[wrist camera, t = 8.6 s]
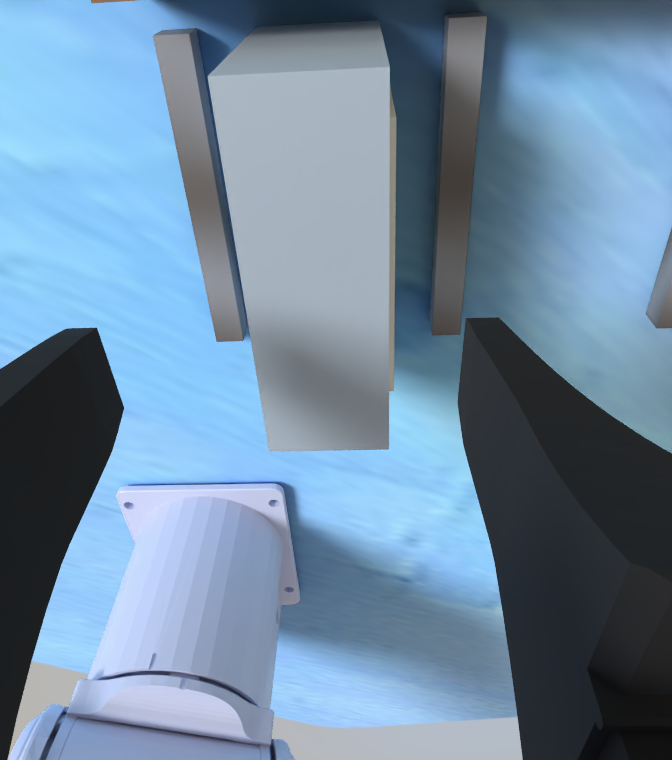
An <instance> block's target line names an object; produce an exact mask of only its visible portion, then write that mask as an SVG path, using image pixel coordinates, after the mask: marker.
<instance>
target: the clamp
mask: <svg viewBox="0 0 672 760" xmlns="http://www.w3.org/2000/svg"><path fill="white" fill-rule="evenodd" d="M118 1H135V0H91V2H92V3H102V2H118ZM486 24H487V16H486V15H485V14H483V13H482V12H468V13H451V14H445V16H444V36H443V57H442V78H441V98H440V119H439V140H438V160H437V181H436V202H435V222H434V243H433V264H432V284H431V305H430V325H431V330H432V335H455V334H460V328H461V316H462V305H463V293H464V281H465V270H466V258H467V246H468V234H469V223H470V211H471V199H472V188H473V176H474V164H475V153H476V141H477V129H478V118H479V106H480V94H481V82H482V71H483V59H484V47H485V36H486ZM153 38H154V43H155V48H156V53H157V58H158V62H159V67H160V72H161V77H162V82H163V86H164V91H165V96H166V101H167V106H168V110H169V115H170V120H171V125H172V129H173V134H174V139H175V144H176V149H177V153H178V158H179V163H180V168H181V173H182V177H183V182H184V187H185V192H186V197H187V201H188V206H189V211H190V216H191V221H192V225H193V230H194V235H195V240H196V245H197V249H198V254H199V259H200V264H201V269H202V273H203V278H204V283H205V288H206V293H207V297H208V302H209V307H210V312H211V317H212V321H213V326H214V331H215V336H216V341H217V342H223V341H243V340H244V336H245V333H246V329H247V323H246V317H245V311H244V305H243V299H242V293H241V287H240V281H239V275H238V269H237V263H236V258H235V252H234V246H233V240H232V234H231V228H230V222H229V216H228V210H227V204H226V198H225V192H224V186H223V180H222V174H221V169H220V163H219V157H218V151H217V145H216V139H215V133H214V127H213V121H212V115H211V109H210V103H209V97H208V91H207V85H206V80H205V74H204V68H203V62H202V56H201V50H200V44H199V38H198V32H197V28H195V29H178V30H162V31H160V32H159V33H157V34H155V35H153ZM646 315H647V316H648V317H649V319H650V320H651V321H652V323H653V324H654V326H655V327H656V328H672V229H671V232H670V236H669V239H668V242H667V246H666V249H665V252H664V256H663V259H662V262H661V266H660V269H659V272H658V276H657V279H656V282H655V286H654V289H653V292H652V295H651V299H650V302H649V305H648V309H647V312H646Z"/></svg>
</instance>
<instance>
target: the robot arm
mask: <svg viewBox="0 0 672 760" xmlns="http://www.w3.org/2000/svg"><path fill="white" fill-rule="evenodd" d="M458 408H459V416H460V424H461V431H462V438H463V444H464V449H465V452H466V456H467V460H468V464H469V467H470V471H471V475H472V478H473V482H474V486H475V489H476V493H477V496H478V500H479V504H480V507H481V511H482V514H483V518H484V522H485V525H486V529H487V532H488V536H489V540H490V544H491V548H492V553H493V557H494V561H495V567H496V573H497V579H498V585H499V591H500V598H501V604H502V610H503V616H504V623H505V630H506V636H507V643H508V650H509V656H510V663H511V671H512V678H513V686H514V693H515V700H516V708H517V715H518V723H519V731H520V740H521V748H522V756H523V760H672V453H670V452H668V451H666V450H664V449H663V448H661V447H659V446H658V445H656V444H654V443H652V442H651V441H649V440H647V439H646V438H644V437H643V436H641V435H639V434H638V433H636V432H635V431H633V430H632V429H630V428H629V427H627V426H626V425H624V424H623V423H621V422H620V421H618V420H617V419H615V418H614V417H612V416H611V415H609V414H608V413H607V412H605V411H604V410H602V409H601V408H600V407H598V406H597V405H596V404H594V403H593V402H592V401H591V400H589V399H588V398H587V397H585V396H584V395H583V394H582V393H580V392H579V391H578V390H576V389H575V388H574V387H573V386H572V385H570V384H569V383H568V382H567V381H566V380H564V379H563V378H562V377H561V376H560V375H559V374H557V373H556V372H555V371H554V370H553V369H552V368H551V367H550V366H548V365H547V364H546V363H545V362H544V361H543V360H542V359H541V358H540V357H539V356H538V355H537V354H535V353H534V352H533V351H532V350H531V349H530V348H529V347H528V346H527V345H526V344H525V343H524V342H523V341H522V340H521V339H520V338H519V337H518V336H517V335H516V334H515V333H514V332H513V331H512V330H511V329H510V328H509V327H508V326H507V325H506V324H505V323H504V322H503V321H502V320H500V319H499V318H466V323H465V333H464V343H463V354H462V364H461V374H460V384H459V394H458ZM123 410H124V406H123V403H122V401H121V398H120V395H119V392H118V389H117V386H116V383H115V380H114V377H113V374H112V371H111V368H110V365H109V362H108V359H107V356H106V353H105V350H104V347H103V345H102V342H101V339H100V336H99V333H98V330H97V328H72V329H65V330H63V331H61V332H59V333H57V334H55V335H54V336H52V337H50V338H48V339H47V340H45V341H43V342H42V343H40V344H39V345H37V346H35V347H34V348H32V349H31V350H29V351H28V352H26V353H25V354H23V355H21V356H20V357H18V358H17V359H15V360H14V361H12V362H11V363H9V364H8V365H6V366H5V367H3V368H1V369H0V760H7V759H8V760H295V759H294V757H293V755H292V754H291V752H290V748H289V746H288V744H287V743H286V742H285V741H284V740H279V739H271V738H272V727H273V718H274V711H273V710H270V709H269V708H270V704H271V696H272V687H273V678H274V669H275V660H276V650H277V641H278V632H279V623H280V614H281V605H294V604H297V603H298V602H299V601H300V590H299V584H298V577H297V571H296V564H295V558H294V552H293V545H292V539H291V532H290V526H289V519H288V513H287V506H286V500H285V493H284V489H283V488H282V487H281V486H280V485H278V484H273V483H268V484H210V485H153V486H123V487H121V488H119V490H118V492H117V495H116V498H117V500H118V503H119V505H120V508H121V510H122V513H123V515H124V518H125V520H126V523H127V525H128V527H129V530H130V532H131V535H132V537H133V540H134V542H135V546H134V549H133V552H132V555H131V558H130V560H129V563H128V566H127V569H126V572H125V574H124V577H123V580H122V583H121V586H120V588H119V591H118V594H117V597H116V600H115V603H114V605H113V608H112V611H111V614H110V617H109V619H108V622H107V625H106V628H105V631H104V633H103V636H102V639H101V642H100V645H99V647H98V650H97V653H96V656H95V659H94V662H93V664H92V667H91V670H90V673H89V676H88V678H87V679H80V680H78V683H77V686H76V688H75V691H74V694H73V696H72V699H71V702H70V705H69V707H65V706H62V705H58V704H53V705H50V706H49V707H47V709H45V711H44V712H43V713H41V714H40V715H38V716H37V717H35V718H34V719H32V720H31V721H30V722H29V723H28V724H27V725H26V727H25V728H24V730H23V731H22V733H21V735H20V736H19V738H18V740H17V742H16V744H15V746H14V748H13V750H12V752H11V754H10V756H9V758H8V754H9V750H10V745H11V741H12V736H13V732H14V727H15V723H16V718H17V714H18V710H19V706H20V703H21V699H22V695H23V691H24V687H25V683H26V679H27V675H28V672H29V668H30V663H31V660H32V657H33V653H34V650H35V646H36V643H37V640H38V636H39V633H40V629H41V626H42V623H43V619H44V616H45V612H46V609H47V606H48V603H49V600H50V597H51V594H52V591H53V588H54V585H55V582H56V579H57V576H58V573H59V570H60V567H61V564H62V562H63V559H64V557H65V554H66V552H67V549H68V547H69V544H70V542H71V540H72V538H73V536H74V533H75V531H76V529H77V527H78V525H79V523H80V520H81V518H82V516H83V514H84V512H85V510H86V507H87V505H88V503H89V501H90V499H91V497H92V494H93V492H94V490H95V488H96V486H97V484H98V481H99V479H100V477H101V475H102V472H103V470H104V468H105V466H106V464H107V461H108V459H109V457H110V454H111V452H112V449H113V446H114V443H115V440H116V436H117V433H118V429H119V425H120V422H121V418H122V414H123ZM273 500H277V501H273ZM130 502H131V503H130Z"/></svg>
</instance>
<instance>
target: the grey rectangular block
mask: <svg viewBox="0 0 672 760" xmlns="http://www.w3.org/2000/svg"><path fill="white" fill-rule="evenodd" d="M208 82H209V88H210V94H211V100H212V106H213V112H214V119H215V125H216V131H217V137H218V143H219V149H220V155H221V161H222V167H223V173H224V179H225V185H226V192H227V198H228V204H229V210H230V216H231V222H232V228H233V234H234V240H235V246H236V252H237V259H238V265H239V271H240V277H241V283H242V289H243V295H244V301H245V307H246V313H247V319H248V325H249V332H250V338H251V344H252V350H253V356H254V362H255V368H256V374H257V380H258V386H259V392H260V398H261V405H262V411H263V417H264V423H265V429H266V435H267V441H268V447H269V451H321V450H377V449H389V391H394V325H395V220H396V112H395V108H394V103H393V98H392V93H391V88H390V65H389V61H388V57H387V52H386V48H385V44H384V39H383V35H382V31H381V27H380V22H379V20H371V21H353V22H335V23H317V24H299V25H281V26H263V27H255V28H254V29H253V30H252V31H251V32H250V33H249V34H248V35H247V36H246V37H245V38H244V39H243V40H242V41H241V42H240V44H239V45H238V46H237V47H236V48H235V49H234V50H233V51H232V52H231V53H230V54H229V55H228V56H227V57H226V58H225V59H224V60H223V61H222V62H221V63H220V64H219V65H218V66H217V67H216V68H215V69H214V70H213V71H212V72H211V73H210V74H209V75H208Z"/></svg>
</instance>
